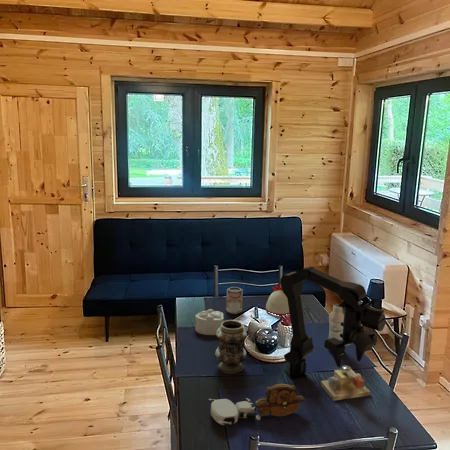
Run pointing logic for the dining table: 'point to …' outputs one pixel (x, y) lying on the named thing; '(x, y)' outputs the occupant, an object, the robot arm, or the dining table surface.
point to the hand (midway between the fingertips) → (348, 364)
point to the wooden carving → (279, 400)
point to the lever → (353, 377)
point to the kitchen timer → (277, 302)
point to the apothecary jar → (231, 346)
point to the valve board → (344, 393)
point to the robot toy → (232, 411)
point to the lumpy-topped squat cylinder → (208, 322)
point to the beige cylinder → (234, 300)
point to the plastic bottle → (336, 322)
